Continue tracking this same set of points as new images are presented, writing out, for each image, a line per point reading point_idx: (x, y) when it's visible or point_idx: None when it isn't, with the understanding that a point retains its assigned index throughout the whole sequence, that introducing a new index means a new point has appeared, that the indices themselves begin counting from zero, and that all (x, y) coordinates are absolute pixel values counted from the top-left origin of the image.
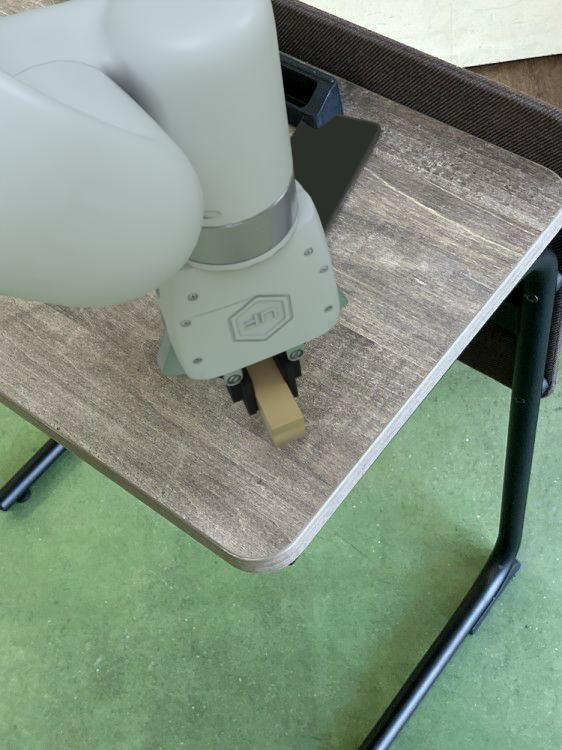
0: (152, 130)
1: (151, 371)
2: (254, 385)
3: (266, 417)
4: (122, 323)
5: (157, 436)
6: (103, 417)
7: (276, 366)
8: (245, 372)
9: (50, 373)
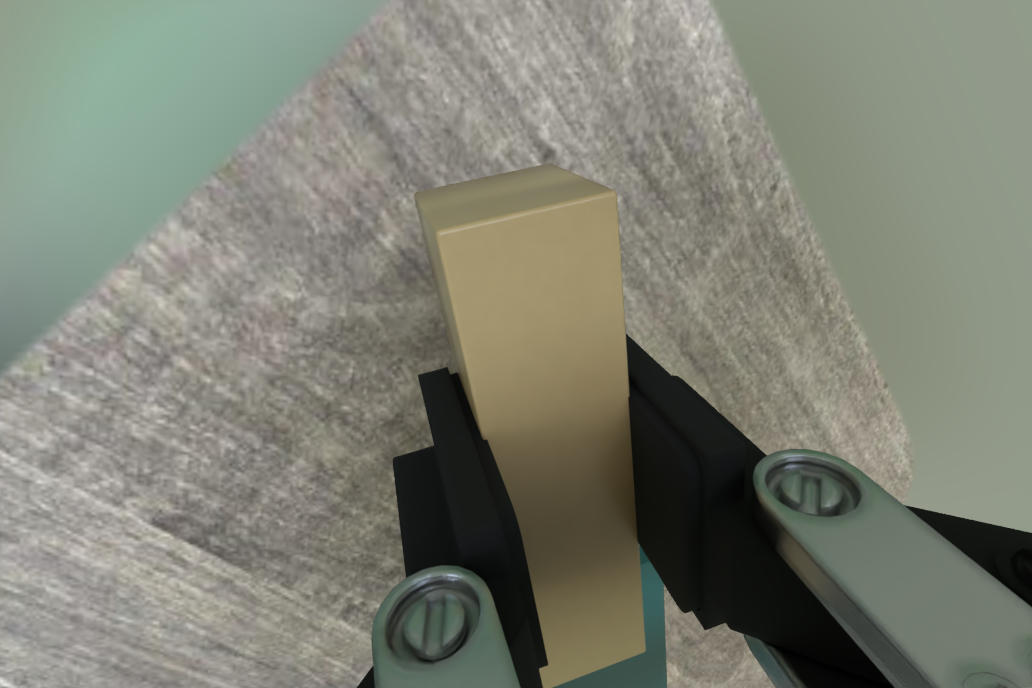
0: None
1: None
2: (619, 437)
3: (619, 269)
4: None
5: (734, 338)
6: (810, 397)
7: None
8: (697, 509)
9: None
